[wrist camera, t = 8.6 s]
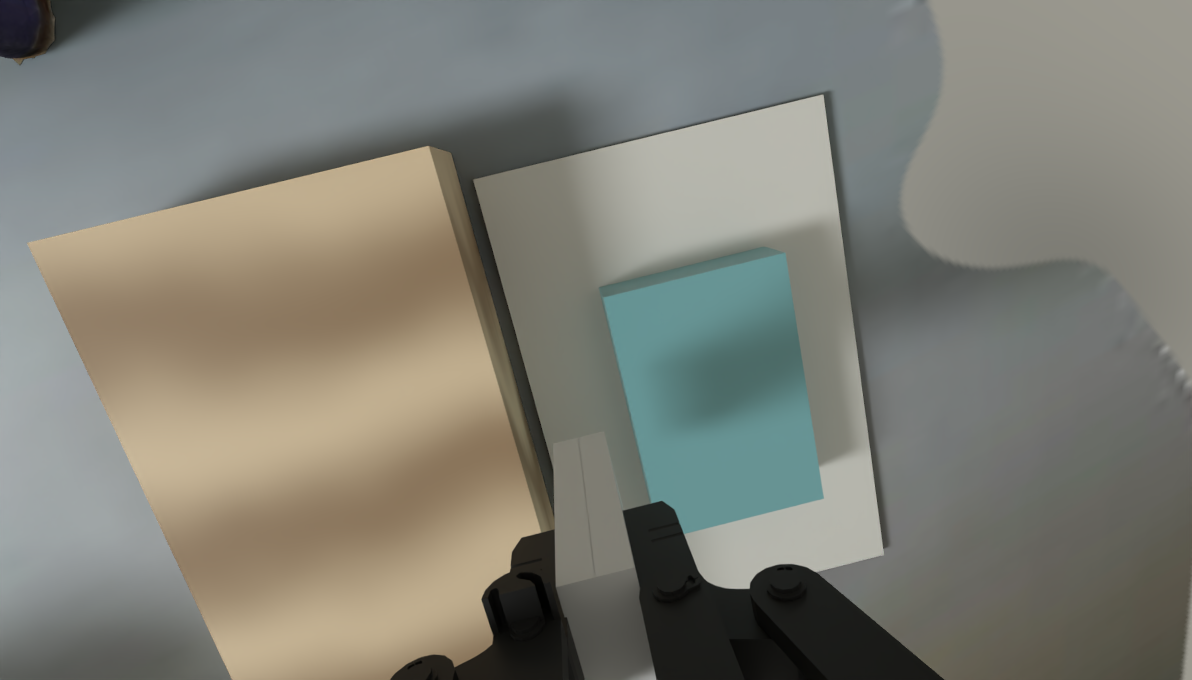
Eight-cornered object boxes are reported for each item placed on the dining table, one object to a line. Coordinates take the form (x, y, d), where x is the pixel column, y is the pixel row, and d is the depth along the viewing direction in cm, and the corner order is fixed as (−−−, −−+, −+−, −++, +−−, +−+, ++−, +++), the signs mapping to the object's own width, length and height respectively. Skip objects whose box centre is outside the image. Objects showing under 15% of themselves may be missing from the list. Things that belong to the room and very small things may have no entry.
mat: (880, 550, 26) (883, 554, 25) (596, 622, 26) (597, 627, 25) (819, 95, 21) (823, 94, 21) (474, 179, 21) (472, 179, 21)
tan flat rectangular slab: (590, 645, 26) (597, 727, 22) (330, 711, 26) (291, 805, 22) (450, 152, 21) (428, 145, 17) (125, 231, 21) (26, 242, 17)
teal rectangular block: (661, 540, 22) (651, 511, 24) (823, 498, 22) (801, 473, 24) (603, 297, 20) (598, 287, 22) (785, 252, 20) (764, 246, 22)
